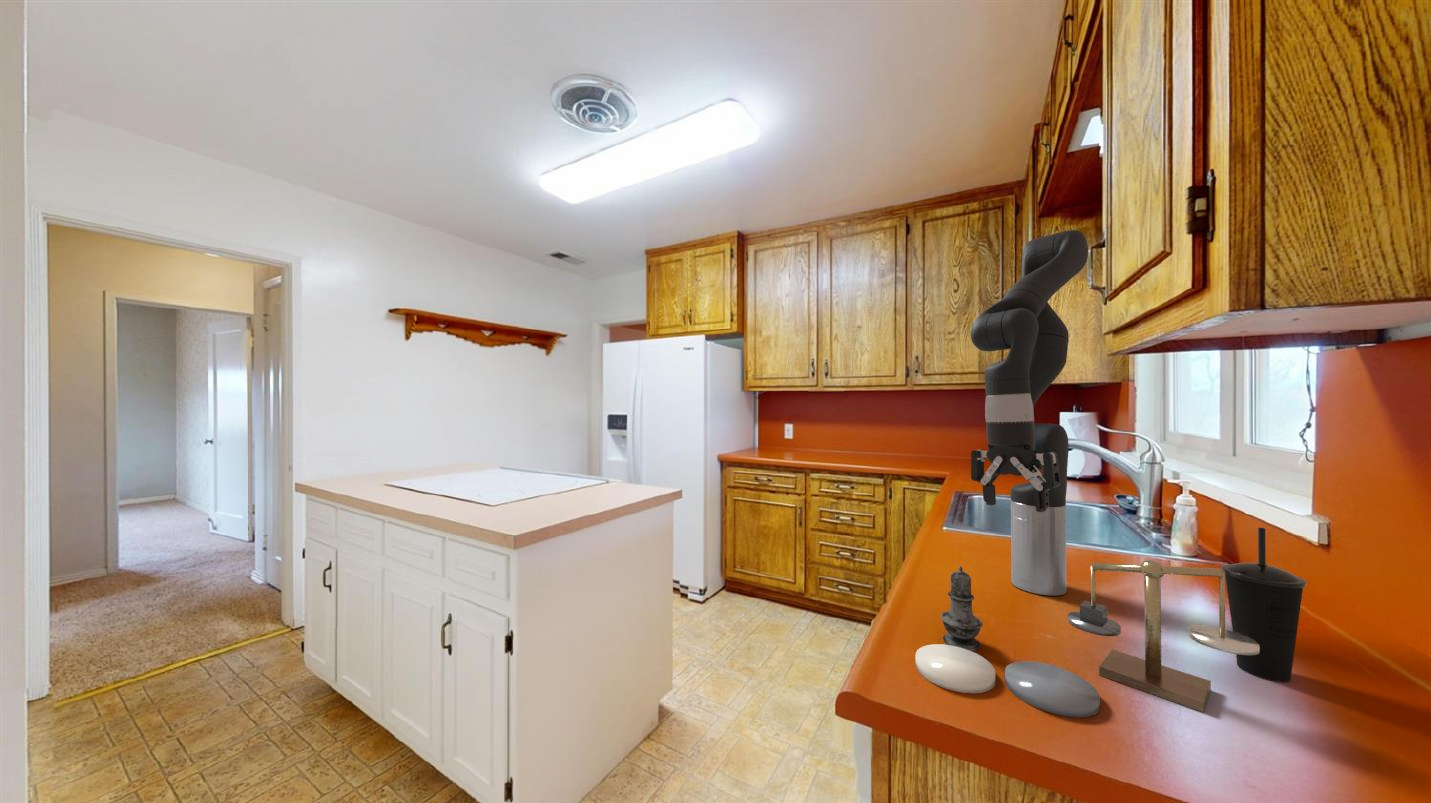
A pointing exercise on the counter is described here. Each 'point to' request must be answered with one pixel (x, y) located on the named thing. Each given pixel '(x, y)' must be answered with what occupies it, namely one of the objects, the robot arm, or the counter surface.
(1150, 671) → the brass balance
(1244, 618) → the drinking cup
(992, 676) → the cream dish
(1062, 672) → the slate-grey dish
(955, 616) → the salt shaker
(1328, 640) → the counter surface
